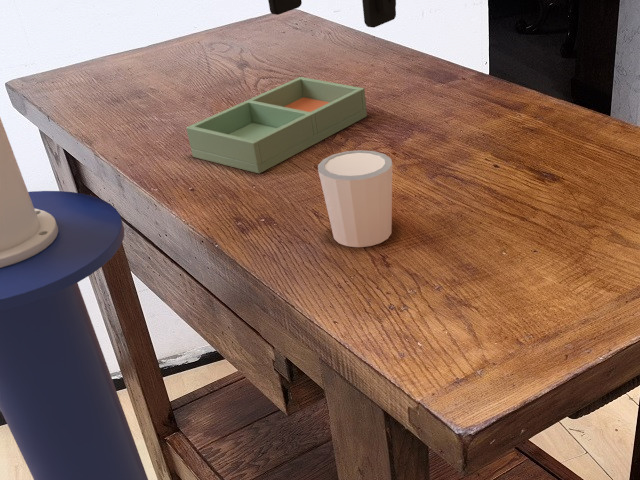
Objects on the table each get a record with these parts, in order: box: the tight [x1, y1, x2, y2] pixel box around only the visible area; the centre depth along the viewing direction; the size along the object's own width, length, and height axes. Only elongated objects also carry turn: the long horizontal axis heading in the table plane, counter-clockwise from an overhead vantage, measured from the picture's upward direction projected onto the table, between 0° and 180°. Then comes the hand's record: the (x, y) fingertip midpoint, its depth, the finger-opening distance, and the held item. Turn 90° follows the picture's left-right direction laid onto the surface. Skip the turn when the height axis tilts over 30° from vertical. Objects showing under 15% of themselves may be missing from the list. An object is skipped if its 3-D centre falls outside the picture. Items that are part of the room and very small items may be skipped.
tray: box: [185, 76, 368, 174], centre depth 100 cm, size 20×10×4 cm, turn 147°
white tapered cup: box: [317, 149, 393, 248], centre depth 78 cm, size 7×7×7 cm
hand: (332, 16), depth 66 cm, fingers open, 9 cm apart
